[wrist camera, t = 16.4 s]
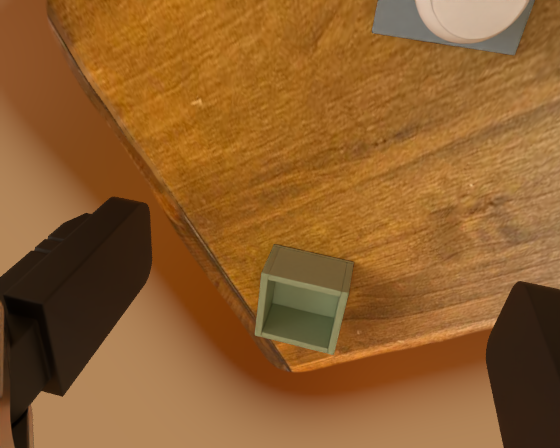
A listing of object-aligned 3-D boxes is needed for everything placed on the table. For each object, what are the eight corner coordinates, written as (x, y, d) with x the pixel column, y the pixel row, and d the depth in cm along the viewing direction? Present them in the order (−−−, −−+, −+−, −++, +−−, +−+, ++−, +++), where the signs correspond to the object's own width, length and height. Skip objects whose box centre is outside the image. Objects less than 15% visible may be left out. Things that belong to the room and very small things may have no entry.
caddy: (266, 304, 46) (254, 335, 42) (273, 244, 42) (261, 272, 38) (339, 321, 45) (333, 355, 41) (354, 261, 41) (348, 293, 37)
